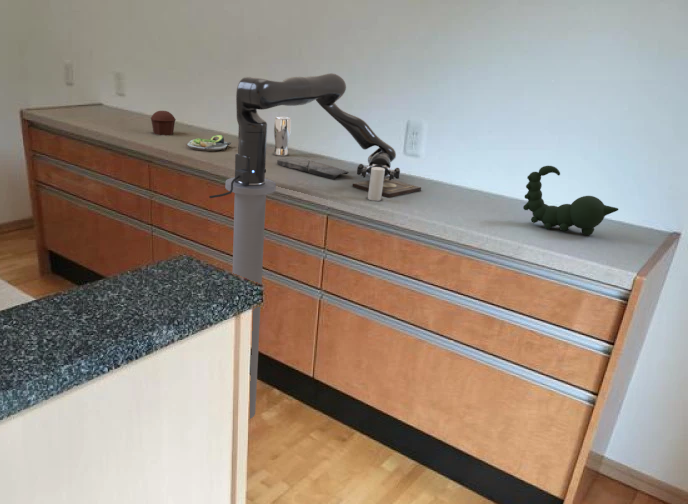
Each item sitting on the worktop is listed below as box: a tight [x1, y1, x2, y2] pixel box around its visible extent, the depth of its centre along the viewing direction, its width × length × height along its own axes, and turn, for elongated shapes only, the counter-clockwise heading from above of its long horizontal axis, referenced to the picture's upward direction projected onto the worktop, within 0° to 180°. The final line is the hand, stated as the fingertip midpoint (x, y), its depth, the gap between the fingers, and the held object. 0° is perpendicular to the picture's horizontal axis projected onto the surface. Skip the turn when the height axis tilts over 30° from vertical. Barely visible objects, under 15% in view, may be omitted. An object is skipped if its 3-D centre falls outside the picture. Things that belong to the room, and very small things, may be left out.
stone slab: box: [276, 157, 349, 181], centre depth 229 cm, size 10×3×30 cm
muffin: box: [150, 110, 176, 136], centre depth 280 cm, size 12×11×10 cm
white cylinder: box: [367, 167, 385, 202], centre depth 195 cm, size 4×4×10 cm
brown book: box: [352, 178, 422, 198], centre depth 211 cm, size 18×16×1 cm
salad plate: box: [187, 134, 232, 152], centre depth 255 cm, size 19×18×5 cm
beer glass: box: [273, 116, 292, 157], centre depth 251 cm, size 7×7×15 cm
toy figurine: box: [523, 165, 619, 236], centre depth 174 cm, size 9×19×25 cm
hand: (377, 175), depth 199 cm, fingers open, 8 cm apart
